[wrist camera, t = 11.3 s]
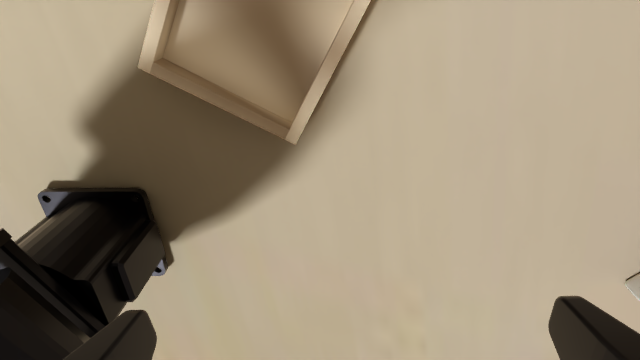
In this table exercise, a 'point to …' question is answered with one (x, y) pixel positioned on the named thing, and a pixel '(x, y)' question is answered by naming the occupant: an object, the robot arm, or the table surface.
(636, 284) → the supplement box
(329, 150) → the table surface
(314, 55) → the pale maple socket
